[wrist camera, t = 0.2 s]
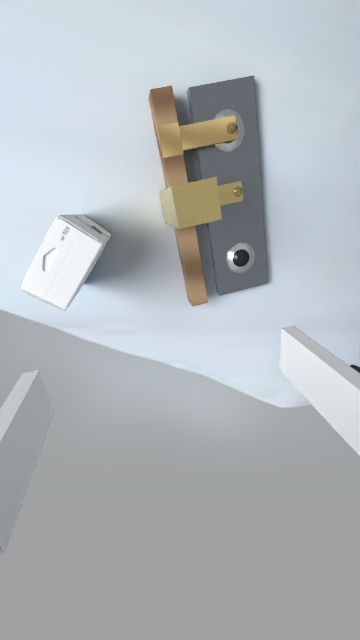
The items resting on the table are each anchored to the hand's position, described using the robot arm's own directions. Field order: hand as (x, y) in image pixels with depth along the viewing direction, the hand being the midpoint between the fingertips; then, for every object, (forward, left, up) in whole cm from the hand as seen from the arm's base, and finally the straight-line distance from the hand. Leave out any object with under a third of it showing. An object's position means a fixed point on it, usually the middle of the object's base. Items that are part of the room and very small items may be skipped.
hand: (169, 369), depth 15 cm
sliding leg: (-7, +10, -27) cm, 30 cm away
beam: (-6, +10, -27) cm, 30 cm away
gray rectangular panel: (-6, +14, -27) cm, 32 cm away
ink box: (-4, -8, -28) cm, 29 cm away
